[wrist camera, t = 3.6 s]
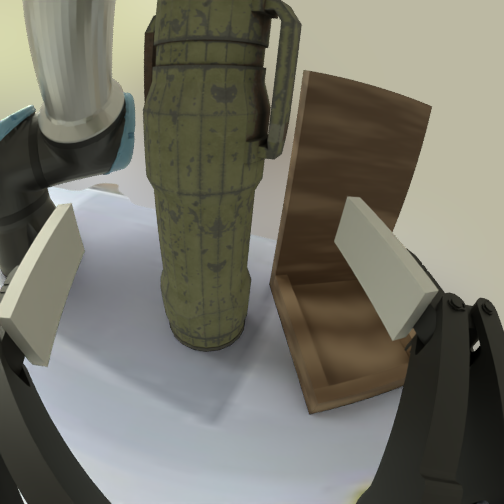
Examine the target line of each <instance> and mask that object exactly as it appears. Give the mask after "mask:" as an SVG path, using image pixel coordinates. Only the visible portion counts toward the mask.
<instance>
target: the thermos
mask: <svg viewBox="0 0 504 504" xmlns="http://www.w3.org/2000/svg"><path fill="white" fill-rule="evenodd" d="M278 16H279V18H280V19H281V30H280V39H279V47H278V55H277V65H276V73H275V81H274V90H273V98H272V107H270V103H269V99H268V94H267V90H266V86H265V74H266V68H263V65H264V55H265V48H268V46H269V37H270V28H271V19H272V18H276V19H277V18H278ZM300 33H301V23H300V21H299V20H298V18H297V16H296V15H295V13H294V11H293V10H292V8H291V7H290V6H289V5H287V4H286V3H284V2H283V1H281V0H158V1H157V10H156V15H155V16H153V18H152V20H151V22H150V24H149V26H148V28H147V30H146V32H145V43H144V44H145V45H144V95H145V105H144V108H143V123H144V146H145V162H146V175H147V178H148V180H149V181H150V183H151V185H152V186H153V188H154V194H155V206H156V215H157V224H158V233H159V241H160V249H161V256H162V263H163V271H162V275H161V291H162V297H163V302H164V307H165V311H166V315H167V317H168V319H169V321H170V328H171V330H172V332H173V334H174V336H175V337H176V338H177V339H178V340H179V341H180V342H181V343H182V344H183V345H185V346H187V347H189V348H191V349H194V350H200V351H206V352H207V351H216V350H220V349H223V348H225V347H228V346H230V345H231V344H232V343H234V342H235V341H236V340H237V339H238V338H239V337H240V335H241V333H242V331H243V330H244V323H245V318H246V316H247V310H248V302H249V293H250V285H251V277H250V274H249V271H248V268H247V261H248V252H249V242H250V232H251V223H252V213H253V204H254V194H255V189H256V188H257V186H258V184H259V183H260V181H261V180H262V177H263V168H264V160H265V158H266V159H275V158H277V157H278V156H280V155H281V154H282V151H283V147H284V143H285V139H286V134H287V129H288V124H289V118H290V111H291V103H292V96H293V88H294V82H295V81H294V80H295V74H296V66H297V58H298V50H299V41H300ZM270 108H271V115H270ZM269 117H270V124H269ZM268 126H269V132H268Z"/></svg>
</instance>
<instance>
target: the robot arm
mask: <svg viewBox="0 0 504 504" xmlns="http://www.w3.org/2000/svg"><path fill="white" fill-rule="evenodd" d="M23 9H24V17H25V24H26V30H27V36H28V41H29V46H30V51H31V56H32V61H33V64H34V69H35V73H36V77H37V80H38V84H39V88H40V91H41V95H42V98H43V101H44V102H43V104H42V106H41V108H40V111H39V112H37V113H35V112H36V111H35V110H36V109H35V108H34V106H33V105H29V106H27V107H25V108H23V109H21V110H19V111H17V112H15V113H13V114H11V115H9V116H8V117H6V118H4V119H2V120H0V269H1V271H2V273H3V274H4V275H5V276H7V279H6V280H5V282H4V286H2V288H1V290H0V504H24V502H23V500H22V498H21V495H20V493H19V490H20V492H21V494H22V496H23V497H24V499H25V500H26V502H27V504H111V503H110V501H109V500H108V499H107V498H106V497H105V496H104V495H103V493H102V492H101V491H100V490H99V489H98V487H97V486H96V485H95V484H94V482H93V481H92V480H91V479H90V477H89V476H88V475H87V473H86V472H85V471H84V469H83V468H82V467H81V465H80V464H79V462H78V461H77V459H76V458H75V457H74V455H73V454H72V452H71V451H70V449H69V448H68V446H67V445H66V443H65V441H64V440H63V438H62V437H61V435H60V433H59V432H58V430H57V428H56V426H55V425H54V423H53V421H52V419H51V418H50V416H49V414H48V412H47V410H46V408H45V406H44V404H43V403H42V401H41V399H40V396H39V394H38V392H37V390H36V388H35V386H34V384H33V382H32V379H31V377H30V375H29V372H28V370H27V368H26V367H25V365H24V364H23V361H24V358H25V357H26V358H27V359H28V360H29V361H30V362H31V364H32V365H38V366H46V367H48V363H49V359H50V355H51V351H52V347H53V343H54V339H55V335H56V332H57V328H58V325H59V321H60V318H61V315H62V312H63V309H64V305H65V302H66V299H67V297H68V294H69V291H70V288H71V285H72V282H73V280H74V277H75V274H76V272H77V269H78V267H79V264H80V262H81V259H82V257H83V254H84V252H85V250H84V247H83V243H82V240H81V237H80V233H79V230H78V226H77V222H76V219H75V215H74V211H73V207H72V203H70V204H61V205H58V206H57V207H56V206H55V205H54V203H53V202H52V200H51V199H50V196H49V193H48V187H52V186H55V185H59V184H63V183H67V182H70V181H75V180H79V179H83V178H87V177H92V176H96V175H101V174H103V175H107V174H110V173H111V172H113V171H117V170H121V169H124V168H126V167H127V166H128V164H129V163H130V161H131V159H132V155H133V149H134V131H135V105H134V100H133V96H132V95H131V94H130V93H125V92H123V89H122V87H121V85H120V84H119V83H118V82H117V81H116V80H114V79H113V78H112V42H113V39H112V38H113V22H114V10H115V0H23ZM334 242H335V244H336V245H337V247H338V248H339V250H340V251H341V253H342V255H343V256H344V258H345V259H346V261H347V263H348V264H349V266H350V267H351V269H352V271H353V272H354V274H355V276H356V277H357V279H358V281H359V282H360V284H361V286H362V287H363V289H364V291H365V292H366V294H367V296H368V298H369V299H370V301H371V303H372V304H373V306H374V308H375V310H376V311H377V313H378V315H379V317H380V319H381V320H382V322H383V324H384V326H385V328H386V330H387V331H388V333H389V335H390V337H391V339H392V341H394V340H398V339H401V338H405V337H406V336H407V335H408V334H409V333H410V331H411V330H412V329H413V328H414V330H415V332H416V334H415V335H414V337H413V338H412V339H411V341H410V342H409V343H408V344H407V345H406V347H405V349H404V350H405V351H407V349H408V348H409V347H410V346H411V350H410V351H409V352H410V357H409V363H408V368H407V373H406V377H405V382H404V386H403V391H402V395H401V399H400V403H399V406H398V410H397V414H396V417H395V421H394V424H393V427H392V431H391V434H390V437H389V440H388V443H387V446H386V449H385V452H384V454H383V457H382V460H381V462H380V465H379V468H378V470H377V473H376V475H375V477H374V480H373V482H372V484H371V486H370V487H369V489H368V490H367V491H365V492H364V493H363V494H362V495H361V497H360V498H359V499H358V501H357V503H356V504H504V331H503V328H502V325H501V322H500V319H499V316H498V314H497V311H496V309H495V307H494V306H493V304H492V303H491V302H490V301H489V300H487V299H485V298H479V299H478V300H477V301H476V303H475V304H474V305H473V306H469V305H465V303H464V302H463V300H462V299H461V298H460V297H458V296H457V295H455V294H452V293H444V291H443V290H442V289H441V287H440V286H439V285H438V283H437V282H436V281H435V279H434V278H433V277H432V275H431V274H430V273H429V272H428V271H427V269H426V268H425V266H424V265H422V263H421V261H420V260H419V259H418V258H417V257H416V256H415V255H414V254H413V253H412V252H410V251H409V250H408V249H406V248H405V247H404V246H403V244H402V243H401V242H400V241H399V240H398V239H397V238H396V236H395V235H394V234H393V233H392V232H391V230H390V229H389V228H388V227H387V226H386V225H385V224H384V223H383V221H382V220H381V219H380V218H379V217H378V216H377V215H376V214H375V213H374V212H373V211H372V209H371V208H370V207H369V206H368V205H367V204H366V203H365V202H364V201H363V200H362V199H361V198H360V197H347V199H346V203H345V206H344V210H343V213H342V217H341V220H340V224H339V227H338V230H337V234H336V237H335V240H334ZM478 340H479V341H480V346H479V348H478V349H477V350H476V351H474V350H473V346H474V345H475V343H476V342H477V341H478ZM17 487H18V488H17ZM18 489H19V490H18Z"/></svg>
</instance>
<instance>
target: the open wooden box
mask: <svg viewBox="0 0 504 504" xmlns="http://www.w3.org/2000/svg"><path fill="white" fill-rule="evenodd" d="M431 109H432V106H430V105H427V104H425V103H422V102H420V101H417V100H414V99H412V98H409V97H406V96H404V95H401V94H398V93H395V92H392V91H388V90H386V89H382V88H379V87H376V86H372V85H369V84H365V83H362V82H358V81H354V80H350V79H345V78H342V77H337V76H333V75H328V74H323V73H318V72H312V71H306V70H304V71H303V78H302V86H301V93H300V100H299V107H298V114H297V121H296V128H295V134H294V141H293V148H292V154H291V160H290V167H289V173H288V180H287V185H286V192H285V198H284V204H283V210H282V216H281V222H280V227H279V233H278V239H277V245H276V250H275V256H274V262H273V267H272V273H271V278H270V284H269V285H270V288H271V291H272V294H273V298H274V301H275V304H276V307H277V310H278V314H279V317H280V320H281V323H282V327H283V330H284V333H285V336H286V340H287V343H288V346H289V349H290V353H291V356H292V359H293V362H294V366H295V369H296V372H297V375H298V379H299V382H300V385H301V389H302V392H303V395H304V399H305V402H306V405H307V408H308V412H309V414H313V413H318V412H322V411H326V410H330V409H334V408H337V407H341V406H345V405H348V404H351V403H355V402H358V401H361V400H365V399H368V398H371V397H374V396H377V395H380V394H382V393H385V392H388V391H391V390H394V389H396V388H399V387H401V386H404V382H405V377H406V373H407V368H408V363H409V357H410V352H409V351H410V350H411V346H410V347H409V348H408V349H407V351H405V350H404V349H405V347H406V345H407V344H408V343H409V342H410V341H411V339H412V338H413V337H414V335H415V334H416V332H415V330H414V328H413V329H412V330H411V331H410V333H409V334H408V335H407V336H406V337H405V338H401V339H398V340H394V341H392V339H391V337H390V335H389V333H388V331H387V330H386V328H385V326H384V324H383V322H382V320H381V319H380V317H379V315H378V313H377V311H376V310H375V308H374V306H373V304H372V303H371V301H370V299H369V298H368V296H367V294H366V292H365V291H364V289H363V287H362V286H361V284H360V282H359V281H358V279H357V277H356V276H355V274H354V272H353V271H352V269H351V267H350V266H349V264H348V263H347V261H346V259H345V258H344V256H343V255H342V253H341V251H340V250H339V248H338V247H337V245H336V244H335V242H334V240H335V237H336V234H337V230H338V227H339V224H340V220H341V217H342V213H343V210H344V206H345V203H346V199H347V197H360V198H361V199H362V200H363V201H364V202H365V203H366V204H367V205H368V206H369V207H370V208H371V209H372V211H373V212H374V213H375V214H376V215H377V216H378V217H379V218H380V219H381V220H382V221H383V223H384V224H385V225H386V226H387V227H388V228H389V229H390V230H391V232H393V229H394V227H395V224H396V222H397V219H398V217H399V214H400V211H401V208H402V206H403V203H404V200H405V197H406V195H407V192H408V189H409V186H410V183H411V180H412V177H413V174H414V171H415V167H416V164H417V161H418V158H419V155H420V151H421V148H422V144H423V141H424V137H425V133H426V129H427V125H428V121H429V117H430V113H431Z"/></svg>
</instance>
